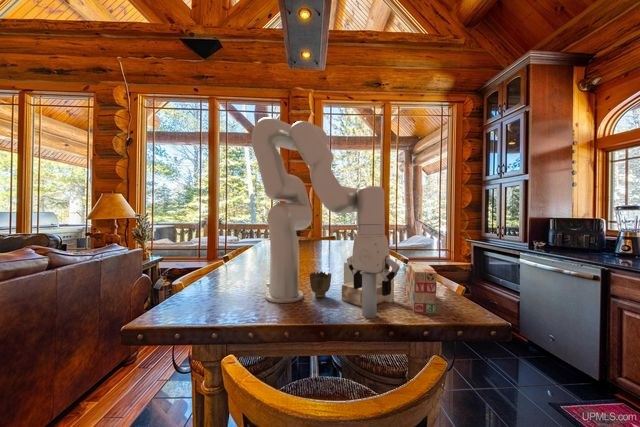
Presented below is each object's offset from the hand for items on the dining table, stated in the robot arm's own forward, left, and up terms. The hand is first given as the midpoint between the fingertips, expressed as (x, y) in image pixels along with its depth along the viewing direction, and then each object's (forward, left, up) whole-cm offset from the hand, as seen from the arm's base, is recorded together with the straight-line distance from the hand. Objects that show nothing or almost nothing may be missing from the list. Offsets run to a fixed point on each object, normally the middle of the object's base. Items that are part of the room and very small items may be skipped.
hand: (371, 291), depth 81 cm
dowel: (-1, 0, -7) cm, 7 cm away
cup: (-22, +1, -7) cm, 23 cm away
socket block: (-10, +9, -7) cm, 15 cm away
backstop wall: (-13, +15, -7) cm, 21 cm away
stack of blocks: (+3, +22, -7) cm, 23 cm away
